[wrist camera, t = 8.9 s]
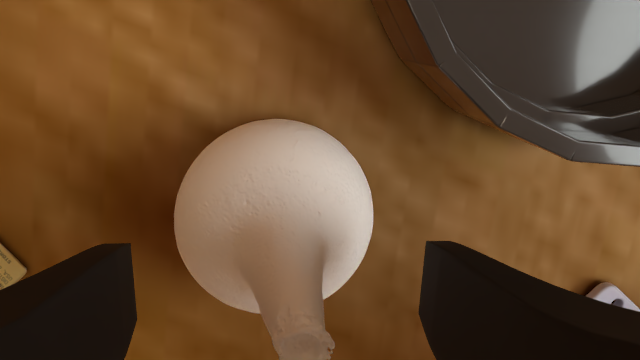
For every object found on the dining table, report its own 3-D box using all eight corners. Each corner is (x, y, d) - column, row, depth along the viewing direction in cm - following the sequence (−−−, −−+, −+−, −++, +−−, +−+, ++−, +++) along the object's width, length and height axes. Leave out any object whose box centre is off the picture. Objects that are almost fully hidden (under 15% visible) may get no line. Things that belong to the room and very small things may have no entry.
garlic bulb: (228, 79, 15) (188, 123, 8) (394, 158, 17) (497, 261, 9) (157, 242, 17) (65, 414, 9) (316, 303, 18) (349, 496, 11)
